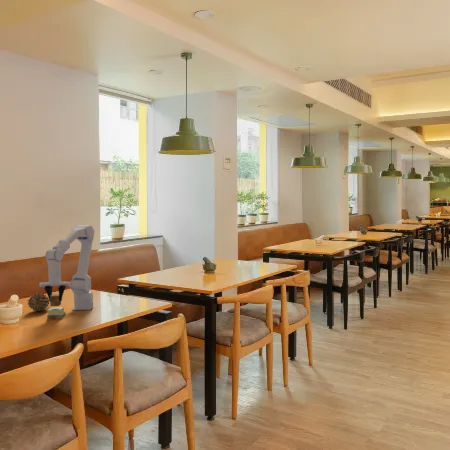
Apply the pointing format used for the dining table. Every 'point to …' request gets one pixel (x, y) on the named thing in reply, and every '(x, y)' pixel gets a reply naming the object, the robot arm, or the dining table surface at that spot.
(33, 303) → the pine cone
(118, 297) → the dining table surface
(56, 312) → the slab top
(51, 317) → the slab bottom
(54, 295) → the walnut block
